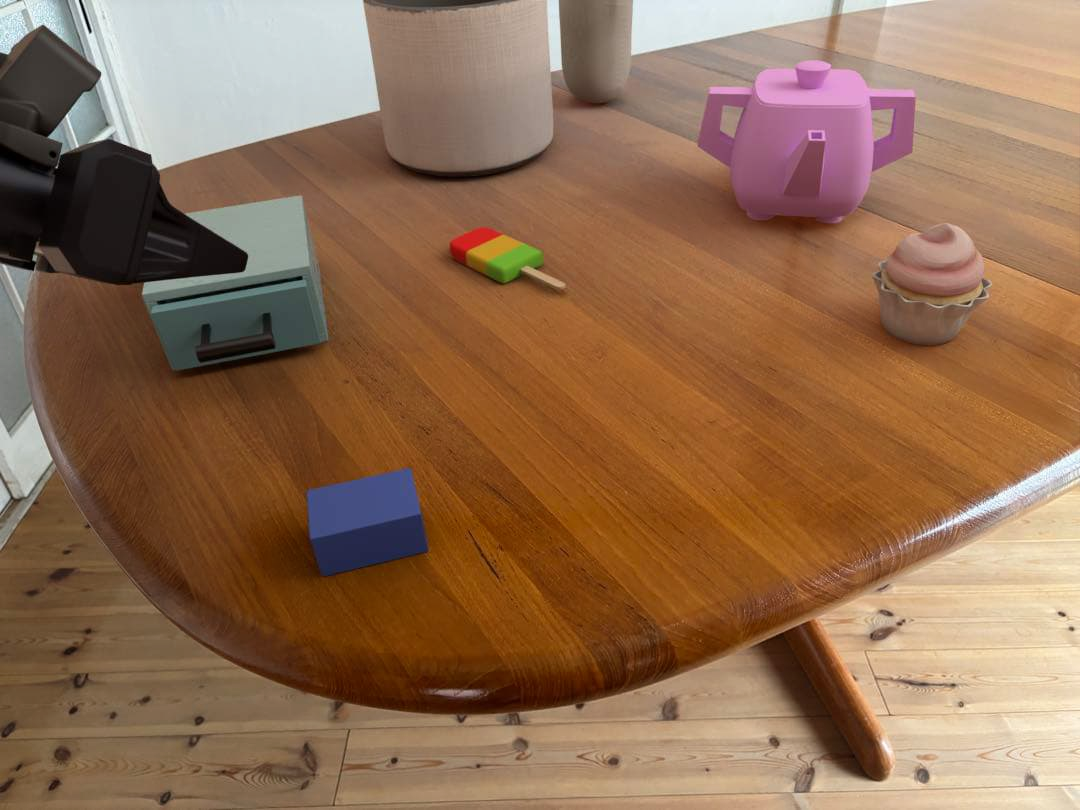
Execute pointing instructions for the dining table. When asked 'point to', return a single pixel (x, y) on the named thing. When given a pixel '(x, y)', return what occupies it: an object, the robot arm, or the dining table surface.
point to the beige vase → (596, 47)
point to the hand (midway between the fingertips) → (211, 260)
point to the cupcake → (931, 285)
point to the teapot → (806, 139)
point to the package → (365, 522)
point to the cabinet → (254, 253)
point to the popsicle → (499, 256)
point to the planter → (462, 82)
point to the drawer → (236, 323)
